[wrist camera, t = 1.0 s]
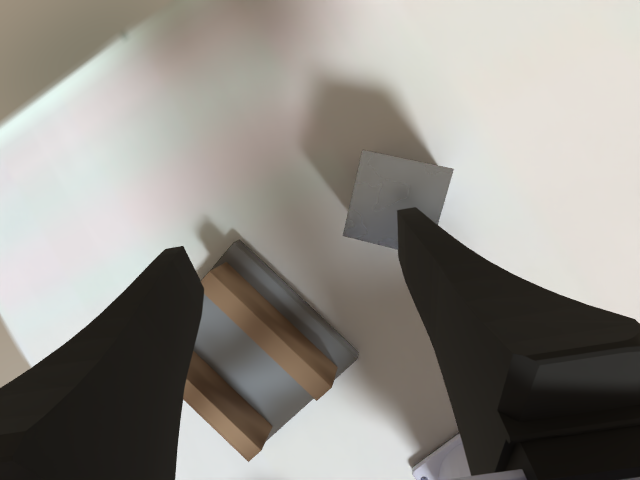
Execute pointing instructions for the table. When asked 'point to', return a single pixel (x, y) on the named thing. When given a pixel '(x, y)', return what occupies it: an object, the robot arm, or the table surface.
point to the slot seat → (258, 352)
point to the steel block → (393, 195)
